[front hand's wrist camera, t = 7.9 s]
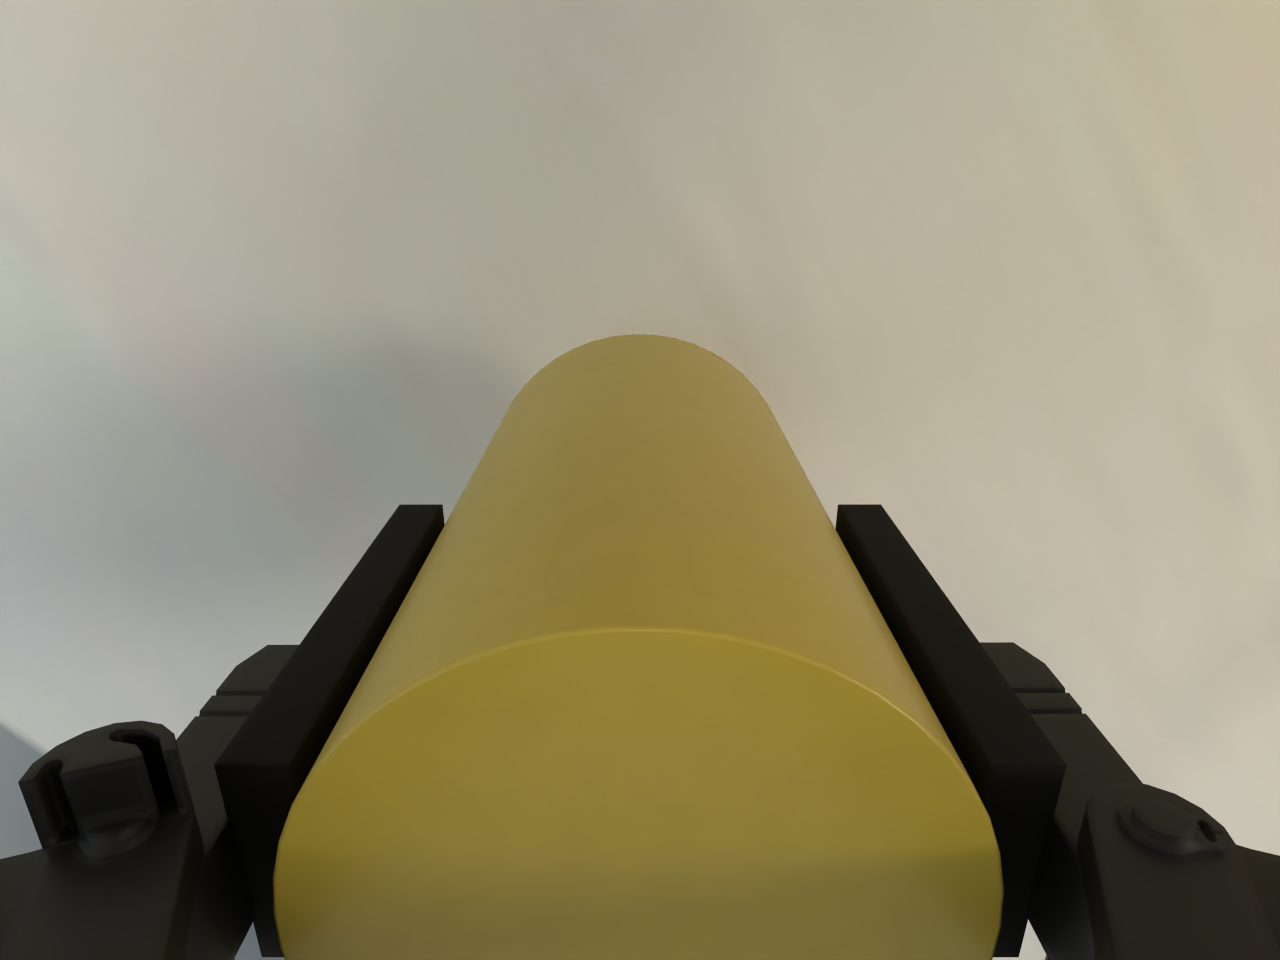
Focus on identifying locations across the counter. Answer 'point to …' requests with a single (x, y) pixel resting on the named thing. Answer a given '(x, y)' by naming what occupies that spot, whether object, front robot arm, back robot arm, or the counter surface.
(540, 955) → the tin
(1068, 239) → the counter surface
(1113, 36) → the counter surface
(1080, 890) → the front robot arm
